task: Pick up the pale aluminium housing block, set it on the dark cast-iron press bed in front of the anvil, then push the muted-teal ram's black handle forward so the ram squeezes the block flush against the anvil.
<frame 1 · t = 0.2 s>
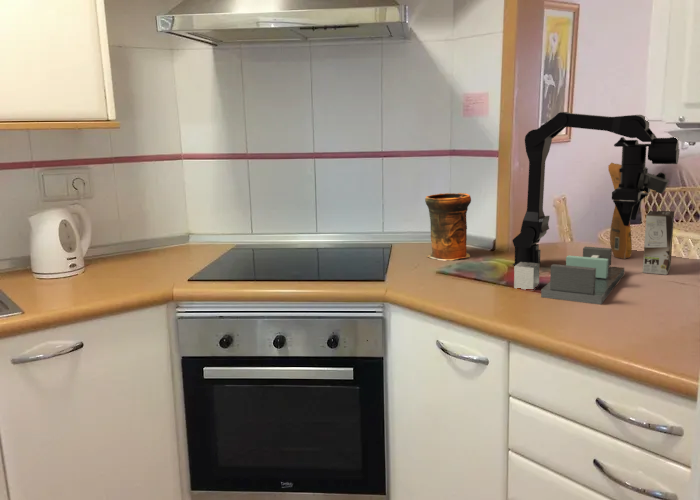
hand: (629, 222, 162), 15 cm above the worktop, fingers open, 9 cm apart
coffee box: (656, 270, 169), on the worktop
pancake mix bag: (618, 253, 190), on the worktop
vessel: (448, 256, 197), on the worktop
ram: (592, 261, 163), point 5 cm above the worktop, slide at 0.0 cm
press: (580, 289, 155), on the worktop
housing: (526, 286, 159), on the worktop
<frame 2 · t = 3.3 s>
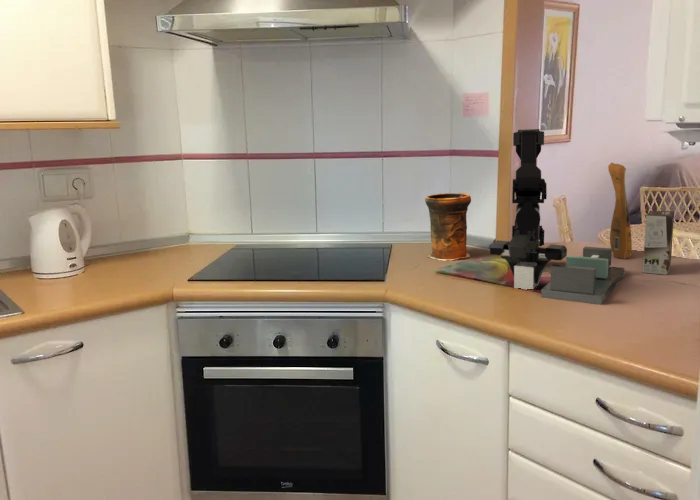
hand: (526, 282, 159), 1 cm above the worktop, fingers closed on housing, 5 cm apart
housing: (526, 286, 159), on the worktop, touching gripper
everything else where it was.
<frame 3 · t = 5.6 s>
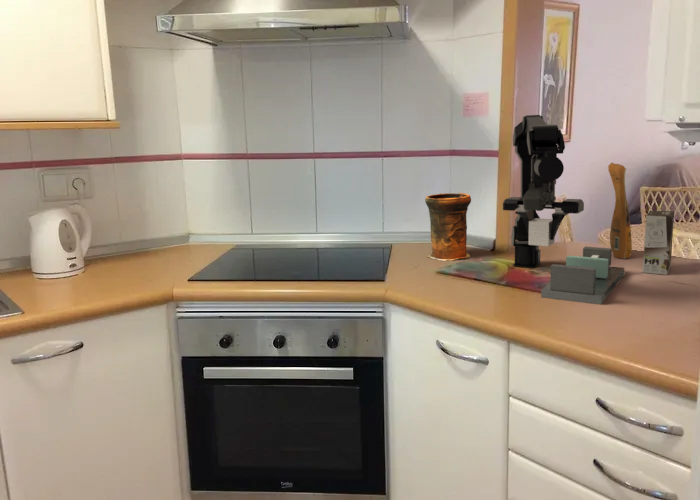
hand: (541, 238, 154), 13 cm above the worktop, fingers closed on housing, 5 cm apart
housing: (541, 243, 154), point 12 cm above the worktop, touching gripper
everything else where it was.
when the fingers open (5 cm above the worktop, at t = 8.1 s): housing drops 2 cm, resting on press.
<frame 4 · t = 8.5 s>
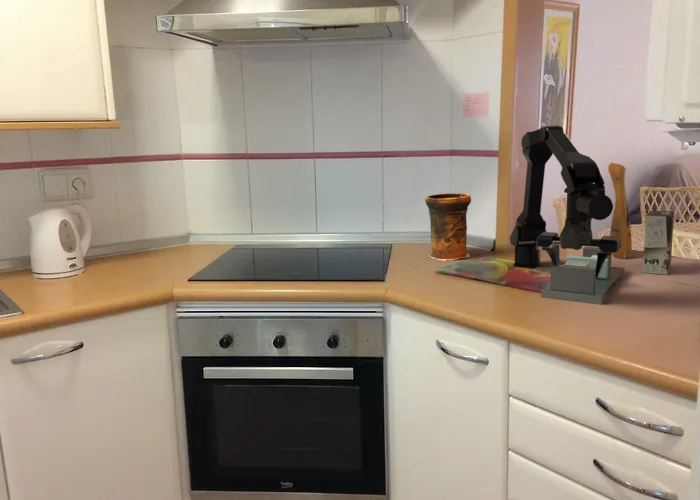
hand: (576, 275, 150), 5 cm above the worktop, fingers open, 9 cm apart
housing: (576, 286, 150), point 2 cm above the worktop, touching press
everything else where it was.
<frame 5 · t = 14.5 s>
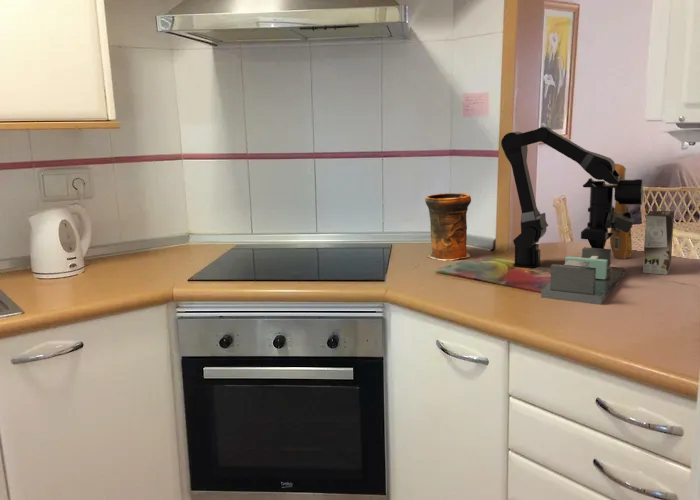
hand: (598, 258, 170), 3 cm above the worktop, fingers closed
ram: (591, 262, 162), point 5 cm above the worktop, slide at 1.0 cm, touching gripper
everything else where it was.
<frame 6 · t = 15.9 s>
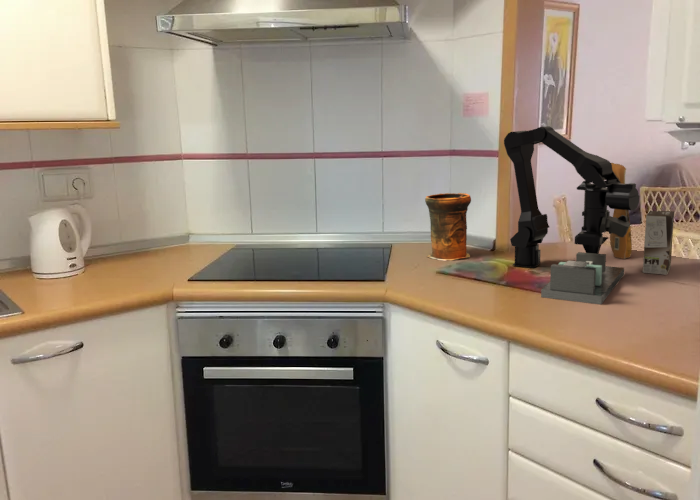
hand: (593, 264, 165), 4 cm above the worktop, fingers closed
ram: (585, 267, 157), point 5 cm above the worktop, slide at 7.5 cm, touching gripper, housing
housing: (575, 287, 150), point 2 cm above the worktop, touching press, ram
everything else where it was.
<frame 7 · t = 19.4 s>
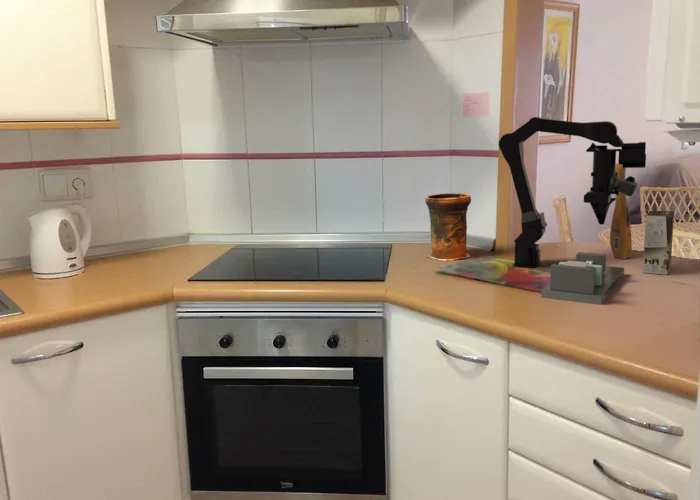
hand: (601, 224, 170), 13 cm above the worktop, fingers closed
ram: (585, 267, 157), point 5 cm above the worktop, slide at 7.5 cm, touching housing
everything else where it was.
at the end: ram slide at 7.5 cm; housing 0.1 cm from the target spot on the press, point 2.0 cm above the press's base; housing tilted 0° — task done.
